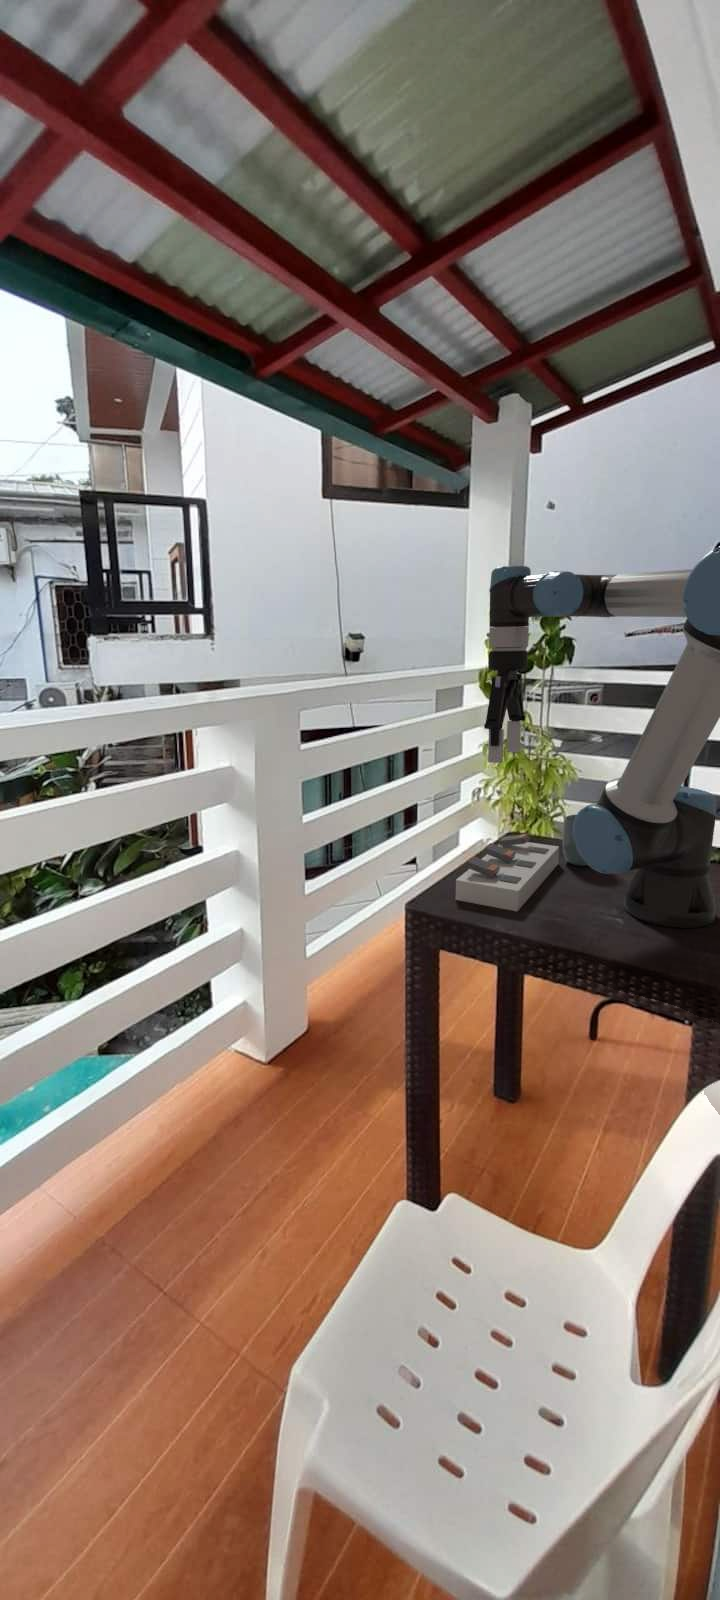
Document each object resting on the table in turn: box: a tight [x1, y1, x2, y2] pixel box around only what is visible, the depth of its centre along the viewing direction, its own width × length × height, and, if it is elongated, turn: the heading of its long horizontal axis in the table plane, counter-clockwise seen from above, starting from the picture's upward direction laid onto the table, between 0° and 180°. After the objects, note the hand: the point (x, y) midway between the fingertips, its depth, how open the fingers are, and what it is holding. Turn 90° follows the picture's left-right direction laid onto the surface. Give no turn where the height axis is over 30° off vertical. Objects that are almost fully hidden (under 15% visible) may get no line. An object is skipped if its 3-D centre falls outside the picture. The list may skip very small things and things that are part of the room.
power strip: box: [455, 841, 560, 912], centre depth 146 cm, size 12×39×4 cm, turn 151°
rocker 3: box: [498, 833, 531, 846], centre depth 151 cm, size 6×4×1 cm, turn 60°
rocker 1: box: [465, 855, 500, 878], centre depth 134 cm, size 6×4×1 cm, turn 61°
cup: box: [562, 814, 589, 867], centre depth 152 cm, size 8×8×10 cm
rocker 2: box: [483, 842, 516, 863], centre depth 143 cm, size 6×4×1 cm, turn 61°
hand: (504, 757), depth 141 cm, fingers open, 13 cm apart
